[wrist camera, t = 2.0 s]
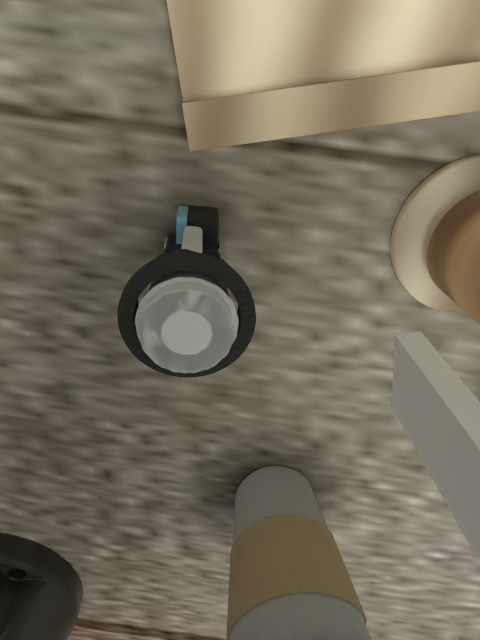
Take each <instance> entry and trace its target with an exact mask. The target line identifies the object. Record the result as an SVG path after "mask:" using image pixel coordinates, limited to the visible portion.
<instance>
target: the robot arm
mask: <svg viewBox="0 0 480 640" xmlns="http://www.w3.org/2000/svg"><path fill="white" fill-rule="evenodd" d="M392 408H393V409H394V411H395V413H396V415H397V416H398V418H399V420H400V422H401V423H402V425H403V427H404V429H405V431H406V432H407V434H408V436H409V438H410V439H411V441H412V443H413V445H414V447H415V448H416V450H417V452H418V454H419V455H420V457H421V459H422V461H423V462H424V464H425V466H426V468H427V470H428V471H429V473H430V475H431V477H432V478H433V480H434V482H435V484H436V485H437V487H438V489H439V491H440V493H441V494H442V496H443V498H444V500H445V501H446V503H447V505H448V507H449V509H450V510H451V512H452V514H453V516H454V517H455V519H456V521H457V523H458V524H459V526H460V528H461V530H462V532H463V533H464V535H465V537H466V539H467V540H468V542H469V544H470V546H471V548H472V549H473V551H474V553H475V555H476V556H477V558H478V560H479V562H480V401H479V400H478V399H477V398H476V397H475V396H474V394H473V393H472V392H471V391H470V390H469V388H468V387H467V386H466V385H465V384H464V383H463V381H462V380H461V379H460V378H459V377H458V375H457V374H456V373H455V372H454V371H453V370H452V368H451V367H450V366H449V365H448V364H447V362H446V361H445V360H444V359H443V358H442V356H441V355H440V354H439V353H438V352H437V351H436V349H435V348H434V347H433V346H432V345H431V343H430V342H429V341H428V340H427V339H426V338H425V336H424V335H423V334H422V333H421V332H420V331H419V332H412V333H405V334H397V335H395V348H394V368H393V387H392ZM82 597H83V588H82V583H81V580H80V578H79V576H78V574H77V573H76V571H75V570H74V568H73V567H72V566H71V565H70V564H69V563H68V562H67V561H66V560H65V559H64V558H62V557H61V556H60V555H58V554H57V553H55V552H54V551H52V550H50V549H49V548H47V547H45V546H43V545H41V544H38V543H36V542H33V541H31V540H28V539H25V538H21V537H18V536H14V535H9V534H3V533H0V640H67V638H68V636H69V635H70V633H71V632H72V630H73V628H74V626H75V623H76V621H77V618H78V614H79V610H80V605H81V601H82Z"/></svg>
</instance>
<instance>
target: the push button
mask: <svg viewBox="0 0 480 640" xmlns="http://www.w3.org/2000/svg"><path fill="white" fill-rule="evenodd" d="M217 235H218V211H217V208H206V207H194V206H179V205H178V213H177V224H176V233H168V242H167V238H166V239H165V243H164V251H163V254H160V255H159V256H158V257H157V258H156V259H155V260H152V261H150V262H149V263H147V264H146V265H144V266H143V267H141V268H140V269H139V270H138V271H137V272H136V273H135V274H134V275H133V276H132V277H131V279H130V280H129V281H128V283H127V285H126V286H125V288H124V291H123V293H122V295H121V298H120V301H119V306H118V325H119V329H120V333H121V335H122V338H123V340H124V342H125V344H126V345H127V347H128V348H129V350H130V351H131V352H132V353H133V354H134V355H135V357H137V358H138V359H139V360H140V361H141V362H143V363H144V364H145V365H147V366H148V367H150V368H152V369H154V370H156V371H158V372H161V373H164V374H167V375H171V376H177V377H199V376H205V375H208V374H212V373H215V372H217V371H219V370H222V369H224V368H225V367H227V366H229V365H230V364H231V363H233V362H234V361H235V360H236V359H237V358H239V357H240V355H241V354H242V353H243V352H244V351H245V349H246V348H247V346H248V345H249V343H250V341H251V338H252V336H253V333H254V329H255V323H256V313H255V306H254V301H253V298H252V295H251V292H250V290H249V288H248V286H247V285H246V283H245V282H244V280H243V279H242V278H241V276H240V275H239V274H238V273H237V272H236V271H234V270H233V269H232V268H231V267H230V266H229V265H228V264H227V263H226V262H225V261H224V260H223V259H221V257H220V250H221V249H220V242H218V249H217ZM151 282H152V283H151ZM150 283H151V286H150V289H149V292H148V293H147V294H146V295H145V296H144V297H143V298H142V300H141V301H140V303H139V305H138V297H139V295H140V294H141V292H142V291H143V290H144V288H145V287H146V286H148V285H149V284H150ZM228 288H229V290H230V291H231V292H232V293H233V295H234V296H235V298H236V300H237V302H238V311H237V312H236V309H235V306H234V303H233V302H232V300H231V299H230V297H229V292H228Z"/></svg>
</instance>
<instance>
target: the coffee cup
mask: <svg viewBox="0 0 480 640" xmlns="http://www.w3.org/2000/svg"><path fill="white" fill-rule="evenodd" d="M227 640H372V639H371V637H370V634H369V632H368V629H367V626H366V617H365V614H364V612H363V609H362V607H361V604H360V602H359V599H358V597H357V594H356V592H355V589H354V587H353V584H352V582H351V579H350V577H349V574H348V572H347V569H346V567H345V565H344V562H343V560H342V557H341V555H340V552H339V550H338V547H337V545H336V542H335V540H334V537H333V535H332V533H331V532H330V530H329V529H328V528H327V526H326V523H325V521H324V518H323V516H322V513H321V511H320V508H319V506H318V503H317V501H316V498H315V496H314V493H313V491H312V488H311V486H310V483H309V481H308V480H307V479H306V478H305V476H303V475H302V474H301V473H299V472H297V471H296V470H293V469H291V468H288V467H282V466H269V467H264V468H261V469H258V470H256V471H254V472H253V473H251V474H250V475H248V476H247V477H246V478H245V479H244V480H243V481H242V482H241V484H240V485H239V487H238V489H237V492H236V498H235V518H234V539H233V546H232V550H231V556H230V577H229V597H228V618H227Z"/></svg>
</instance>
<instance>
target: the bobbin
mask: <svg viewBox="0 0 480 640" xmlns="http://www.w3.org/2000/svg"><path fill="white" fill-rule="evenodd" d="M390 257H391V263H392V267H393V270H394V273H395V274H396V276H397V278H398V280H399V282H400V283H401V284H402V286H403V287H404V288H405V289H406V290H407V291H408V292H409V293H410V294H411V295H412V296H413V297H414V298H415V299H416V300H418V301H419V302H421V303H422V304H424V305H426V306H428V307H430V308H434V309H437V310H441V311H447V312H460V311H465V312H466V313H467V314H468V315H470V316H471V317H472V318H473V319H474V320H475V321H476V322H478V323H479V324H480V155H473V156H468V157H464V158H461V159H458V160H455V161H453V162H451V163H449V164H447V165H444V166H443V167H441V168H439V169H438V170H436V171H435V172H433V173H432V174H431V175H429V176H428V177H427V178H426V179H424V180H423V181H422V182H421V183H420V184H419V185H418V186H417V187H416V188H415V189H414V191H413V192H412V193H411V194H410V196H409V197H408V198H407V200H406V201H405V203H404V204H403V206H402V208H401V210H400V212H399V214H398V216H397V218H396V221H395V223H394V226H393V230H392V234H391V241H390Z"/></svg>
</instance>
